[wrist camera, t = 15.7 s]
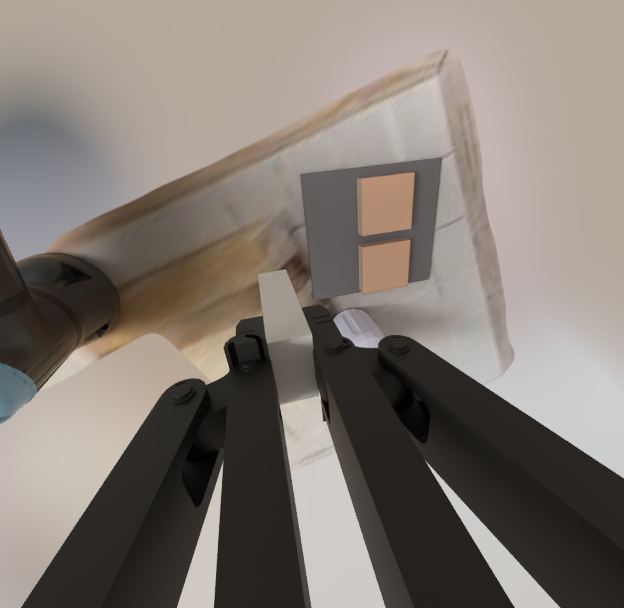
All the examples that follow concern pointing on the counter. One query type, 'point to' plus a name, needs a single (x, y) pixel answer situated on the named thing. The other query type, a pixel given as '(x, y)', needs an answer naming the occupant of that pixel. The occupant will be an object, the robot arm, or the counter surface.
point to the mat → (344, 224)
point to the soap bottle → (359, 328)
